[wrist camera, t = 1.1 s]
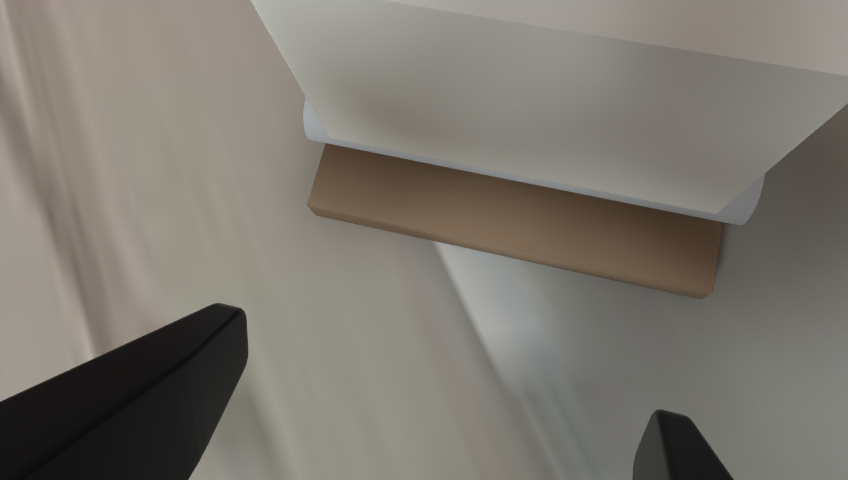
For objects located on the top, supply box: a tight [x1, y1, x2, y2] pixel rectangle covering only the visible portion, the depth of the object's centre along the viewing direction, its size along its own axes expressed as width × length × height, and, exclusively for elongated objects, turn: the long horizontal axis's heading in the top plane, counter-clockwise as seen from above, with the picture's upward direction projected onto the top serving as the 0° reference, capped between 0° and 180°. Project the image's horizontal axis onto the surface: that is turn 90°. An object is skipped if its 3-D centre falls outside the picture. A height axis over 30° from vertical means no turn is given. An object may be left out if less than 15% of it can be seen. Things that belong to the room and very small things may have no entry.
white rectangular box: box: [251, 0, 848, 226], centre depth 18 cm, size 7×14×10 cm, turn 76°
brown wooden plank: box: [307, 143, 723, 299], centre depth 24 cm, size 18×14×1 cm
